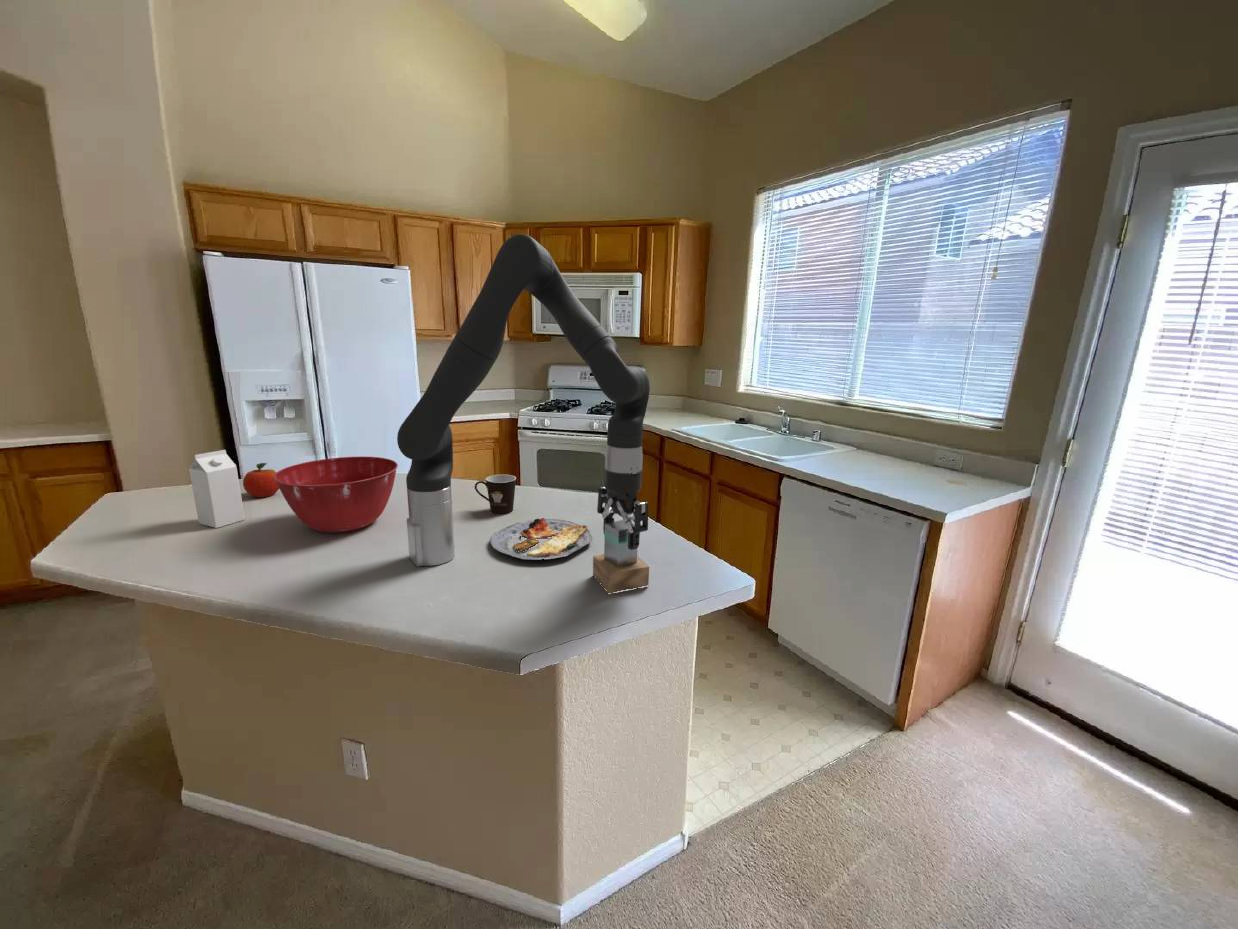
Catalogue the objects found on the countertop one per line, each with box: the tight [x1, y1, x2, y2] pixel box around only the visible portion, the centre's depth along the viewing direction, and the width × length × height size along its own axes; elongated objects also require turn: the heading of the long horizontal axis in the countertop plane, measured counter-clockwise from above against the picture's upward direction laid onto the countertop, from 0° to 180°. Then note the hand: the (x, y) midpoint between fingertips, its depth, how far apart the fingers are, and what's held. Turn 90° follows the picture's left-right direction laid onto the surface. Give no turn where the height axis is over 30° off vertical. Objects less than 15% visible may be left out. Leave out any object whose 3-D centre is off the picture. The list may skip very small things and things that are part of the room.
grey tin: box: [603, 519, 638, 568], centre depth 106 cm, size 5×5×8 cm
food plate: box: [489, 517, 593, 561], centre depth 126 cm, size 25×23×4 cm
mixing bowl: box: [273, 456, 399, 534], centre depth 133 cm, size 28×28×15 cm
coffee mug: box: [474, 474, 517, 516], centre depth 148 cm, size 12×9×10 cm
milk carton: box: [188, 449, 246, 529], centre depth 131 cm, size 7×7×19 cm
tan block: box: [592, 553, 650, 594], centre depth 107 cm, size 9×9×5 cm
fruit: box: [242, 462, 280, 498], centre depth 154 cm, size 10×10×10 cm
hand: (620, 541), depth 105 cm, fingers open, 8 cm apart
